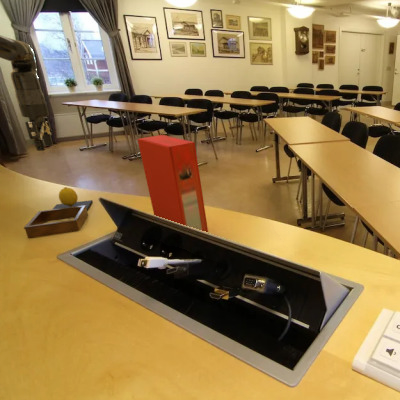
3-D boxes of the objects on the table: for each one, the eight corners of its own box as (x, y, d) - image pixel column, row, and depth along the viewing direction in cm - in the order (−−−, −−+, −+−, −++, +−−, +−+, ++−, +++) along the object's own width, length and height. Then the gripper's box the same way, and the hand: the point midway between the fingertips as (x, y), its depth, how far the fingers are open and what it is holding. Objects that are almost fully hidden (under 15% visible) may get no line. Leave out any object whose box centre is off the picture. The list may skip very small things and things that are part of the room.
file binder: (186, 251, 96) (168, 146, 84) (157, 234, 106) (137, 138, 94) (209, 241, 102) (195, 141, 90) (180, 226, 112) (163, 134, 100)
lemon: (58, 208, 123) (52, 189, 120) (72, 203, 128) (66, 184, 125) (70, 210, 121) (64, 190, 118) (83, 204, 126) (77, 185, 123)
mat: (49, 216, 118) (48, 214, 118) (57, 206, 127) (56, 204, 126) (87, 211, 123) (86, 209, 122) (92, 202, 131) (92, 200, 131)
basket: (27, 238, 103) (23, 227, 102) (42, 220, 115) (39, 211, 114) (79, 230, 108) (76, 220, 107) (88, 214, 120) (85, 205, 119)
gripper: (26, 101, 118) (40, 144, 124) (9, 104, 105) (25, 152, 111) (51, 100, 120) (63, 143, 126) (37, 104, 108) (51, 151, 114)
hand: (45, 148), depth 119 cm, fingers open, 8 cm apart
